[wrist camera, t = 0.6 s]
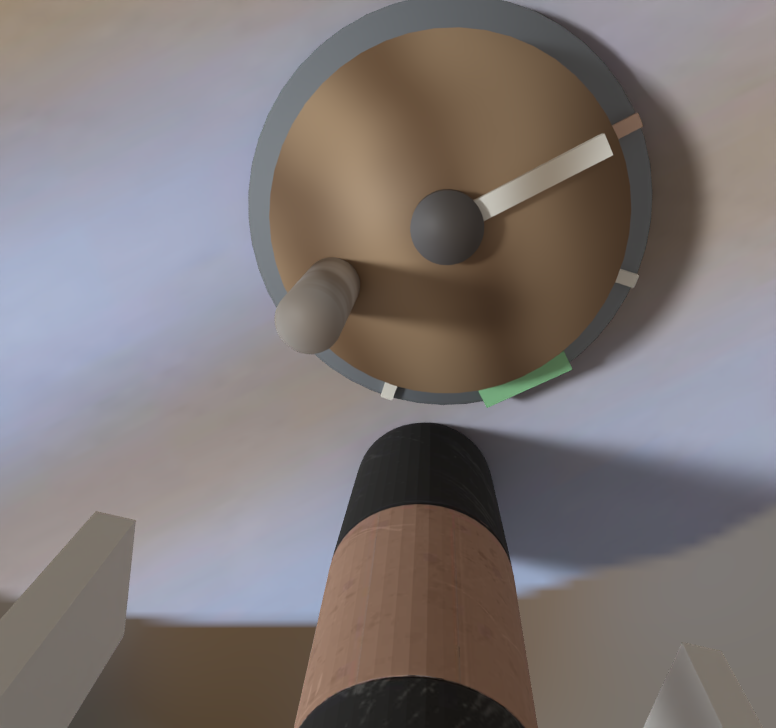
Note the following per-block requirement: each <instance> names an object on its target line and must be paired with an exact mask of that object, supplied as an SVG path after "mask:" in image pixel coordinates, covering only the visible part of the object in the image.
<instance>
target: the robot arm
mask: <svg viewBox="0 0 776 728" xmlns="http://www.w3.org/2000/svg"><path fill="white" fill-rule="evenodd" d="M135 522H136V520H133V519H128V518H124V517H119V516H115V515H110V514H106V513H101V512H97V511H96V512H95V513H94V514H93V515H92V516H91V517H90V519H89V520H88V521H87V522H86V523H85V524H84V525H83V527H82V528H81V529H80V530H79V531H78V532H77V533H76V534H75V536H74V537H73V538H72V539H71V540H70V541H69V542H68V543H67V545H66V546H65V547H64V548H63V549H62V550H61V551H60V553H59V554H58V555H57V556H56V557H55V558H54V559H53V560H52V562H51V563H50V564H49V565H48V566H47V567H46V568H45V569H44V571H43V572H42V573H41V574H40V575H39V576H38V577H37V579H36V580H35V581H34V582H33V583H32V584H31V585H30V586H29V588H28V589H27V590H26V591H25V592H24V593H23V594H22V595H21V597H20V598H19V599H18V600H17V601H16V602H15V603H14V605H13V606H12V607H11V608H10V609H9V610H8V611H7V613H6V614H5V615H4V616H3V617H2V618H1V619H0V728H67V727H68V725H69V724H70V722H71V720H72V719H73V717H74V715H75V714H76V712H77V711H78V709H79V708H80V706H81V704H82V703H83V701H84V699H85V698H86V696H87V694H88V693H89V691H90V690H91V688H92V686H93V685H94V683H95V681H96V680H97V678H98V676H99V675H100V673H101V672H102V670H103V668H104V667H105V665H106V663H107V662H108V660H109V658H110V657H111V655H112V653H113V652H114V651H115V649H116V647H117V646H118V644H119V642H120V641H121V639H122V637H123V636H124V629H125V619H126V610H127V600H128V590H129V581H130V571H131V561H132V551H133V542H134V532H135ZM643 728H763V727H762V725H761V723H760V721H759V719H758V717H757V716H756V714H755V712H754V710H753V708H752V707H751V705H750V703H749V701H748V699H747V697H746V695H745V694H744V692H743V690H742V688H741V686H740V684H739V683H738V681H737V679H736V677H735V675H734V673H733V672H732V670H731V668H730V666H729V664H728V662H727V661H726V659H725V657H724V655H723V653H722V651H720V650H715V649H710V648H706V647H702V646H697V645H692V644H688V643H683V642H682V643H681V645H680V648H679V650H678V652H677V654H676V657H675V659H674V661H673V663H672V666H671V668H670V670H669V672H668V674H667V676H666V679H665V681H664V683H663V685H662V688H661V690H660V692H659V694H658V696H657V699H656V701H655V703H654V705H653V707H652V710H651V712H650V714H649V716H648V719H647V721H646V723H645V725H644V727H643Z"/></svg>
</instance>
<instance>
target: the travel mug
mask: <svg viewBox="0 0 776 728" xmlns="http://www.w3.org/2000/svg"><path fill="white" fill-rule="evenodd" d="M294 728H538V726H537V720H536V714H535V707H534V701H533V694H532V688H531V682H530V676H529V669H528V663H527V657H526V650H525V644H524V638H523V631H522V626H521V619H520V612H519V606H518V600H517V594H516V587H515V581H514V575H513V571H512V566H511V561H510V557H509V552H508V548H507V543H506V539H505V535H504V530H503V526H502V521H501V517H500V512H499V508H498V504H497V499H496V495H495V490H494V486H493V482H492V478H491V474H490V470H489V468H488V465H487V462H486V460H485V458H484V456H483V455H482V453H481V452H480V450H479V449H478V448H477V447H476V446H475V445H474V444H473V443H472V442H471V441H470V440H469V439H468V438H467V437H465V436H464V435H463V434H461V433H459V432H457V431H456V430H453V429H451V428H449V427H446V426H442V425H438V424H432V423H415V424H409V425H404V426H401V427H398V428H395V429H393V430H391V431H389V432H388V433H386V434H385V435H383V436H382V437H380V438H379V439H378V440H377V441H376V442H375V443H374V444H373V445H372V446H371V447H370V448H369V450H368V451H367V453H366V454H365V456H364V458H363V460H362V462H361V465H360V467H359V470H358V473H357V477H356V480H355V483H354V487H353V490H352V494H351V497H350V500H349V504H348V507H347V511H346V514H345V517H344V521H343V524H342V528H341V531H340V534H339V538H338V541H337V545H336V548H335V551H334V555H333V558H332V562H331V565H330V569H329V574H328V578H327V583H326V587H325V592H324V596H323V601H322V605H321V609H320V614H319V618H318V623H317V627H316V632H315V636H314V641H313V645H312V650H311V654H310V659H309V663H308V667H307V672H306V676H305V681H304V685H303V690H302V695H301V699H300V703H299V708H298V712H297V716H296V721H295V726H294Z"/></svg>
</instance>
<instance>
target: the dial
mask: <svg viewBox="0 0 776 728" xmlns="http://www.w3.org/2000/svg"><path fill="white" fill-rule="evenodd" d="M630 219H631V193H630V182H629V177H628V171H627V166H626V161H625V158H624V155H623V152H622V149H621V146H620V143H619V139H618V137H617V135H616V133H615V131H614V129H613V127H612V125H611V123H610V121H609V118H608V116H607V115H606V113H605V112H604V110H603V109H602V107H601V106H600V104H599V103H598V101H597V100H596V98H595V97H594V96H593V94H592V93H591V92H590V91H589V90H588V89H587V88H586V86H585V85H584V84H583V83H582V82H581V81H580V80H579V79H578V78H577V77H576V76H575V75H574V74H573V73H572V72H571V71H569V70H568V69H567V68H566V67H565V66H563V65H562V64H561V63H560V62H558V61H557V60H556V59H554V58H553V57H551V56H549V55H548V54H546V53H544V52H543V51H541V50H539V49H538V48H536V47H534V46H532V45H530V44H527V43H525V42H523V41H520V40H518V39H515V38H513V37H511V36H507V35H503V34H499V33H495V32H491V31H487V30H480V29H471V28H462V27H455V28H433V29H428V30H422V31H417V32H411V33H407V34H404V35H401V36H398V37H395V38H392V39H389V40H386V41H384V42H382V43H380V44H378V45H376V46H374V47H372V48H370V49H368V50H366V51H364V52H362V53H360V54H359V55H357V56H356V57H354V58H353V59H351V60H350V61H349V62H347V63H346V64H344V65H343V66H341V67H340V68H339V69H338V70H337V71H336V72H334V73H333V74H332V75H331V76H330V77H329V78H328V79H327V80H326V81H325V82H323V83H322V84H321V86H320V87H319V88H318V89H317V90H316V91H315V93H314V94H313V95H312V96H311V97H310V99H309V100H308V101H307V102H306V103H305V105H304V107H303V108H302V110H301V111H300V113H299V114H298V116H297V118H296V119H295V121H294V122H293V124H292V126H291V128H290V130H289V132H288V134H287V137H286V139H285V141H284V143H283V145H282V148H281V151H280V154H279V157H278V160H277V164H276V167H275V170H274V176H273V181H272V187H271V193H270V211H269V221H270V233H271V243H272V247H273V252H274V257H275V262H276V265H277V268H278V271H279V274H280V277H281V280H282V282H283V285H284V287H285V289H286V291H287V294H286V295H285V296H284V297H283V299H282V300H281V301H280V303H279V304H278V306H277V309H276V312H275V326H276V330H277V333H278V335H279V336H280V338H281V339H282V341H283V342H284V343H285V344H286V345H287V346H288V347H290V348H291V349H293V350H295V351H297V352H300V353H304V354H316V353H320V352H323V351H325V350H327V349H330V350H331V351H332V352H334V353H335V354H336V355H337V356H338V357H340V358H341V359H343V360H344V361H346V362H347V363H348V364H350V365H351V366H353V367H354V368H356V369H358V370H360V371H362V372H364V373H365V374H367V375H369V376H371V377H373V378H376V379H378V380H381V381H383V382H386V383H389V384H391V385H394V386H398V387H402V388H406V389H410V390H414V391H422V392H431V393H462V392H471V391H479V390H483V389H487V388H491V387H495V386H499V385H502V384H505V383H507V382H510V381H513V380H515V379H518V378H521V377H523V376H525V375H526V374H528V373H530V372H532V371H534V370H536V369H538V368H540V367H542V366H543V365H544V364H546V363H547V362H549V361H550V360H552V359H553V358H554V357H556V356H557V355H559V354H560V353H561V352H562V351H563V350H565V349H566V348H567V347H568V346H569V345H570V344H571V343H572V342H574V341H575V340H576V339H577V338H578V337H579V336H580V334H581V333H582V332H583V331H584V330H585V329H586V328H587V326H588V325H589V324H590V323H591V322H592V321H593V319H594V318H595V316H596V315H597V313H598V312H599V310H600V309H601V307H602V306H603V304H604V303H605V301H606V299H607V297H608V295H609V293H610V291H611V289H612V287H613V285H614V284H615V282H616V279H617V276H618V274H619V271H620V268H621V265H622V262H623V260H624V256H625V251H626V247H627V242H628V238H629V231H630Z"/></svg>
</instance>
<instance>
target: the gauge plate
mask: <svg viewBox="0 0 776 728" xmlns="http://www.w3.org/2000/svg"><path fill="white" fill-rule="evenodd" d="M455 27H462V28H471V29H480V30H487V31H491V32H495V33H499V34H503V35H507V36H511V37H513V38H515V39H518V40H520V41H523V42H525V43H527V44H530V45H532V46H534V47H536V48H538V49H539V50H541V51H543V52H544V53H546V54H548V55H549V56H551V57H553V58H554V59H556V60H557V61H558V62H560V63H561V64H562V65H563V66H565V67H566V68H567V69H568V70H569V71H571V72H572V73H573V74H574V75H575V76H576V77H577V78H578V79H579V80H580V81H581V82H582V83H583V84H584V85H585V86H586V88H587V89H588V90H589V91H590V92H591V93H592V94H593V96H594V97H595V98H596V100H597V101H598V103H599V104H600V106H601V107H602V109H603V110H604V112H605V113H606V115H607V116H608V118H609V121H610V123H611V125H612V127H613V129H614V131H615V133H616V135H617V137H618V139H619V143H620V146H621V149H622V152H623V155H624V158H625V161H626V166H627V171H628V177H629V182H630V193H631V219H630V231H629V238H628V242H627V247H626V251H625V256H624V260H623V262H622V265H621V268H620V271H619V274H618V276H617V279H616V282H615V284H614V285H613V287H612V289H611V291H610V293H609V295H608V297H607V299H606V301H605V303H604V304H603V306H602V307H601V309H600V310H599V312H598V313H597V315H596V316H595V318H594V319H593V321H592V322H591V323H590V324H589V325H588V326H587V328H586V329H585V330H584V331H583V332H582V333H581V334H580V336H579V337H578V338H577V339H576V340H575V341H574V342H572V343H571V344H570V345H569V346H568V347H567V348H566V349H565V350H563V351H562V352H561V353H560V354H559V355H557V356H556V357H554V358H553V359H552V360H550V361H549V362H547V363H546V364H544V365H543V366H542V367H540V368H538V369H536V370H534V371H532V372H530V373H528V374H526V375H525V376H523V377H521V378H518V379H515V380H513V381H510V382H507V383H505V384H502V385H499V386H495V387H491V388H487V389H483V390H479V391H471V392H462V393H431V392H422V391H414V390H410V389H406V388H402V387H398V386H394V385H391V384H389V383H386V382H383V381H381V380H378V379H376V378H373V377H371V376H369V375H367V374H365V373H364V372H362V371H360V370H358V369H356V368H354V367H353V366H351V365H350V364H348V363H347V362H346V361H344V360H343V359H341V358H340V357H338V356H337V355H336V354H335V353H334V352H332V351H331V350H330V349H327V350H325V351H323V352H320V353H316V354H315V355H316V356H317V357H318V358H320V359H321V360H322V361H323V362H325V363H326V364H327V365H328V366H329V367H331V368H332V369H334V370H335V371H337V372H339V373H340V374H342V375H343V376H345V377H346V378H348V379H349V380H351V381H353V382H355V383H358V384H360V385H362V386H364V387H366V388H368V389H370V390H372V391H375V392H378V393H381V397H382V398H386V399H389V400H393V398H397V399H402V400H407V401H412V402H417V403H427V404H439V405H447V404H468V403H474V402H480V401H484V403H485V405H486V407H487V408H488V407H490V406H492V405H494V404H497V403H499V402H501V401H503V400H506V399H508V398H510V397H512V396H515V395H517V394H519V393H521V392H523V391H526V390H528V389H530V388H532V387H535V386H537V385H539V384H541V383H544V382H546V381H548V380H550V379H552V378H555V377H557V376H559V375H561V374H564V373H566V372H568V371H570V370H572V367H571V365H570V363H569V362H570V361H572V360H573V359H574V358H576V357H577V356H578V355H579V354H580V353H581V352H582V351H583V350H585V349H586V348H587V347H588V346H589V345H590V344H591V343H592V342H593V341H594V340H595V339H596V338H597V337H598V336H599V334H600V333H601V332H602V331H603V329H604V328H605V327H606V326H607V324H608V323H609V322H610V321H611V320H612V318H613V317H614V315H615V314H616V312H617V310H618V309H619V307H620V306H621V304H622V303H623V301H624V299H625V298H626V296H627V294H628V292H629V290H630V288H631V287H632V288H634V287H635V285H636V283H637V280H638V278H639V275H638V274H637V273H638V270H639V267H640V264H641V260H642V257H643V254H644V251H645V248H646V244H647V238H648V233H649V227H650V222H651V209H652V182H651V169H650V162H649V157H648V153H647V148H646V144H645V139H644V136H643V133H642V130H641V127H643V124H642V121H641V119H640V116H639V114H638V113H635V111H634V109H633V107H632V106H631V104H630V102H629V100H628V98H627V96H626V94H625V93H624V91H623V89H622V87H621V85H620V84H619V83H618V81H617V80H616V79H615V77H614V76H613V75H612V73H611V72H610V70H609V69H608V68H607V66H606V65H605V64H604V63H603V62H602V61H601V59H600V58H599V57H598V56H597V55H596V54H595V53H594V52H593V51H592V50H591V49H590V48H589V47H588V46H587V45H586V44H585V43H584V42H582V41H581V40H580V39H578V38H577V37H576V36H574V35H573V34H572V33H570V32H569V31H568V30H566V29H565V28H564V27H562V26H561V25H559V24H557V23H555V22H554V21H552V20H550V19H548V18H546V17H544V16H543V15H541V14H539V13H537V12H535V11H532V10H530V9H527V8H524V7H521V6H519V5H516V4H513V3H510V2H507V1H502V0H407V1H403V2H399V3H395V4H392V5H389V6H387V7H384V8H382V9H379V10H377V11H374V12H372V13H369V14H367V15H365V16H363V17H362V18H360V19H358V20H356V21H355V22H353V23H351V24H349V25H348V26H346V27H344V28H342V29H341V30H340V31H338V32H337V33H336V34H334V35H333V36H332V37H331V38H329V39H328V40H327V41H325V42H324V43H323V44H321V45H320V46H319V47H318V48H317V49H316V50H315V51H314V52H313V53H312V54H311V55H310V56H309V57H308V58H307V59H306V60H305V61H304V62H303V63H302V64H301V65H300V66H299V67H298V69H297V70H296V71H295V73H294V74H293V75H292V77H291V78H290V79H289V81H288V82H287V84H286V85H285V86H284V88H283V89H282V91H281V92H280V94H279V96H278V98H277V99H276V101H275V103H274V105H273V107H272V108H271V110H270V112H269V114H268V116H267V119H266V121H265V124H264V126H263V129H262V131H261V134H260V137H259V139H258V143H257V147H256V151H255V155H254V159H253V163H252V167H251V176H250V184H249V225H250V232H251V239H252V246H253V249H254V253H255V257H256V261H257V265H258V268H259V271H260V273H261V276H262V278H263V281H264V283H265V286H266V288H267V291H268V293H269V295H270V297H271V298H272V300H273V302H274V304H275V306H276V307H277V306H278V304H279V303H280V301H281V300H282V299H283V297H284V296H285V295H286V294H287V291H286V289H285V287H284V285H283V282H282V280H281V277H280V274H279V271H278V268H277V265H276V262H275V257H274V252H273V247H272V243H271V233H270V221H269V211H270V193H271V187H272V181H273V176H274V170H275V167H276V164H277V160H278V157H279V154H280V151H281V148H282V145H283V143H284V141H285V139H286V137H287V134H288V132H289V130H290V128H291V126H292V124H293V122H294V121H295V119H296V118H297V116H298V114H299V113H300V111H301V110H302V108H303V107H304V105H305V103H306V102H307V101H308V100H309V99H310V97H311V96H312V95H313V94H314V93H315V91H316V90H317V89H318V88H319V87H320V86H321V84H322V83H323V82H325V81H326V80H327V79H328V78H329V77H330V76H331V75H332V74H333V73H334V72H336V71H337V70H338V69H339V68H340V67H341V66H343V65H344V64H346V63H347V62H349V61H350V60H351V59H353V58H354V57H356V56H357V55H359V54H360V53H362V52H364V51H366V50H368V49H370V48H372V47H374V46H376V45H378V44H380V43H382V42H384V41H386V40H389V39H392V38H395V37H398V36H401V35H404V34H407V33H411V32H417V31H422V30H428V29H433V28H455Z"/></svg>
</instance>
